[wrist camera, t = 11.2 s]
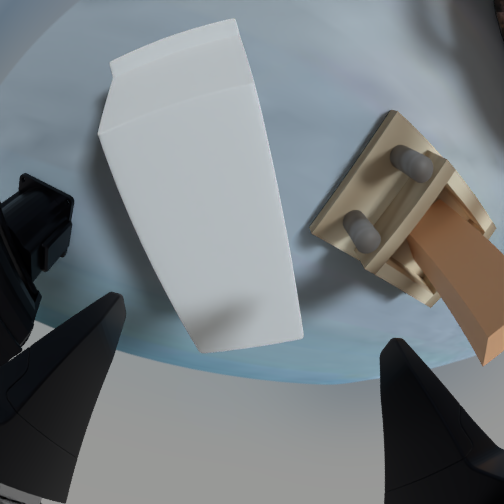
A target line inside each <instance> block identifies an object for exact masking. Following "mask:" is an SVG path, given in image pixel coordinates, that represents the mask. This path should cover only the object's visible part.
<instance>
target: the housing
mask: <svg viewBox="0 0 504 504" xmlns="http://www.w3.org/2000/svg"><path fill="white" fill-rule="evenodd" d="M439 199H440V200H442V201H443V202H444V203H446V204H447V205H448V206H449V207H451V208H452V209H453V210H454V211H456V212H457V213H458V214H459V215H460V216H462V217H463V218H464V219H465V220H466V221H468V222H469V223H470V224H471V225H472V226H473V227H474V228H476V229H477V230H478V231H479V232H480V233H481V234H482V235H483V236H484V237H486V238H487V239H488V240H489V238H490V237H491V235H492V234H493V232H494V231H495V230H496V227H495V225H494V223H493V222H492V220H491V219H490V217H489V215H488V214H487V212H486V211H485V209H484V208H483V206H482V205H481V203H480V202H479V200H478V199H477V198H476V196H475V195H474V193H473V192H472V191H471V189H470V188H469V187H468V185H467V184H466V183H465V181H464V180H463V179H462V177H461V176H460V175H459V174H458V172H457V171H456V170H455V169H454V167H453V166H452V165H451V164H450V162H449V161H448V160H447V159H445V158H443V157H442V156H441V155H440V154H439V153H438V151H437V150H436V149H435V148H434V147H433V146H432V145H431V144H430V143H429V142H428V141H427V139H426V138H425V137H424V136H423V135H422V134H421V133H420V132H419V131H418V130H417V129H416V128H415V127H414V126H413V125H412V124H411V123H410V122H409V121H408V120H407V119H405V118H404V117H403V116H402V115H401V114H400V113H399V112H398V111H394V110H390V112H389V113H388V115H387V117H386V118H385V120H384V121H383V123H382V124H381V126H380V127H379V129H378V130H377V131H376V133H375V134H374V136H373V137H372V139H371V140H370V142H369V143H368V145H367V146H366V148H365V149H364V151H363V152H362V154H361V155H360V156H359V158H358V159H357V161H356V162H355V164H354V165H353V167H352V168H351V169H350V171H349V172H348V174H347V175H346V177H345V178H344V179H343V181H342V182H341V184H340V185H339V187H338V188H337V189H336V191H335V192H334V194H333V195H332V196H331V198H330V199H329V201H328V202H327V203H326V205H325V206H324V208H323V209H322V210H321V212H320V213H319V214H318V216H317V217H316V219H315V220H314V221H313V223H312V224H311V226H310V227H309V228H310V231H311V233H312V234H313V235H315V236H317V237H319V238H320V239H322V240H324V241H326V242H328V243H329V244H331V245H333V246H335V247H337V248H338V249H340V250H342V251H344V252H345V253H347V254H349V255H351V256H352V257H354V258H356V259H358V260H359V261H361V263H362V265H363V267H364V269H366V270H368V271H369V272H371V273H373V274H375V275H376V276H378V277H380V278H382V279H383V280H385V281H387V282H388V283H390V284H392V285H394V286H395V287H397V288H399V289H400V290H402V291H404V292H405V293H407V294H409V295H410V296H412V297H414V298H415V299H417V300H419V301H420V302H422V303H424V304H425V305H427V306H429V307H430V308H431V307H432V306H433V305H434V304H435V303H436V302H437V301H438V300H439V299H440V298H441V296H440V295H439V293H438V292H437V291H436V289H435V288H434V286H433V285H432V283H431V282H430V281H429V279H428V278H427V277H426V275H425V274H424V272H423V271H422V270H421V268H420V267H419V266H418V264H417V263H416V262H415V261H414V259H413V256H412V253H411V250H410V247H409V244H408V242H407V239H406V238H407V236H408V235H409V234H410V233H411V231H412V230H413V229H414V227H415V226H416V225H417V224H418V222H419V221H420V220H421V218H422V217H423V216H424V214H425V213H426V212H427V210H428V209H429V208H430V206H431V205H432V204H433V203H434V202H436V201H437V200H439Z"/></svg>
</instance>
